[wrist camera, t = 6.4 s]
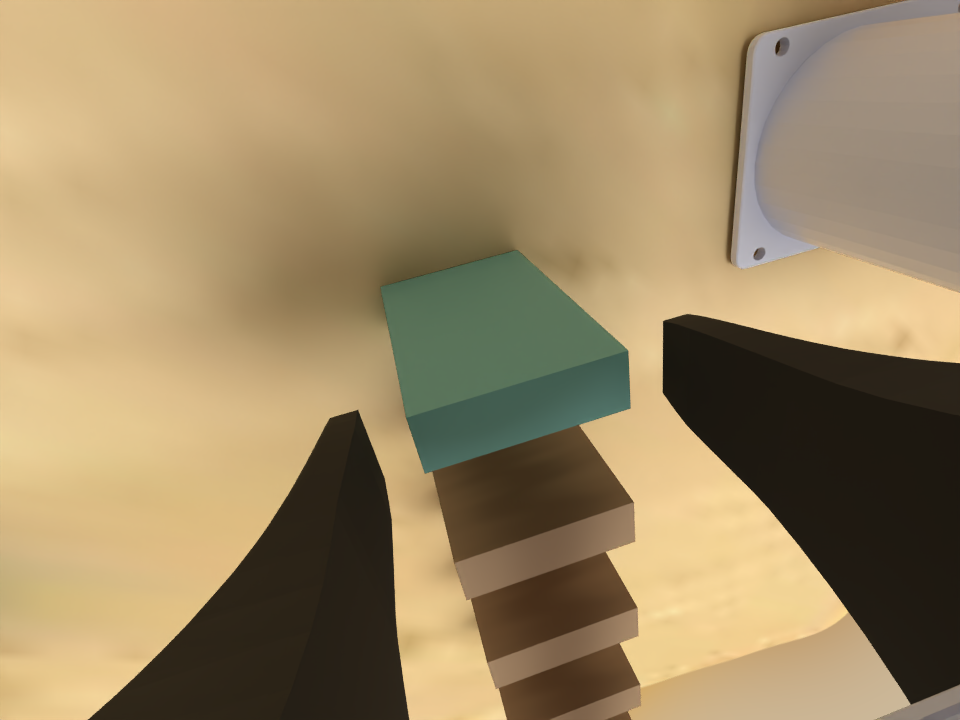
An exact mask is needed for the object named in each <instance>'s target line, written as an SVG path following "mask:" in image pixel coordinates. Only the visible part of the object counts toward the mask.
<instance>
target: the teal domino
mask: <svg viewBox="0 0 960 720" xmlns="http://www.w3.org/2000/svg"><path fill="white" fill-rule="evenodd" d="M380 288H381V293H382V298H383V303H384V308H385V313H386V318H387V323H388V328H389V333H390V338H391V343H392V349H393V354H394V359H395V364H396V369H397V374H398V379H399V384H400V389H401V394H402V399H403V404H404V409H405V414H406V419H407V422H408V425H409V428H410V431H411V434H412V437H413V440H414V443H415V446H416V448H417V451H418V454H419V457H420V460H421V463H422V466H423V469H424V472H425V473H428V472H432V471H435V470H438V469H441V468H444V467H447V466H451V465H454V464H457V463H460V462H463V461H466V460H469V459H473V458H476V457H479V456H482V455H485V454H488V453H491V452H495V451H498V450H501V449H504V448H507V447H510V446H514V445H517V444H520V443H523V442H526V441H529V440H532V439H536V438H539V437H542V436H545V435H548V434H551V433H555V432H558V431H561V430H564V429H567V428H570V427H573V426H577V425H580V424H583V423H586V422H589V421H592V420H596V419H599V418H602V417H605V416H608V415H611V414H614V413H618V412H621V411H624V410H627V409H630V408H631V407H630V381H629V356H628V350H627V349H626V348H625V347H624V346H623V345H622V344H621V343H619V342H618V341H617V340H616V339H615V338H614V337H613V336H612V335H611V334H610V333H608V332H607V331H606V330H605V329H604V328H603V327H602V326H601V325H600V324H598V323H597V322H596V321H595V320H594V319H593V318H592V317H591V316H590V315H589V314H587V313H586V312H585V311H584V310H583V309H582V308H581V307H580V306H579V305H577V304H576V303H575V302H574V301H573V300H572V299H571V298H570V297H569V296H568V295H566V294H565V293H564V292H563V291H562V290H561V289H560V288H559V287H558V286H556V285H555V284H554V283H553V282H552V281H551V280H550V279H549V278H548V277H547V276H545V275H544V274H543V273H542V272H541V271H540V270H539V269H538V268H537V267H535V266H534V265H533V264H532V263H531V262H530V261H529V260H528V259H527V258H526V257H524V256H523V255H522V254H521V253H520V252H519V251H518V250H515V251H512V252H508V253H504V254H501V255H497V256H493V257H489V258H486V259H482V260H478V261H475V262H471V263H467V264H463V265H460V266H456V267H452V268H449V269H445V270H441V271H437V272H434V273H430V274H426V275H423V276H419V277H415V278H412V279H408V280H404V281H400V282H397V283H393V284H389V285H386V286H382V287H380Z"/></svg>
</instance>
